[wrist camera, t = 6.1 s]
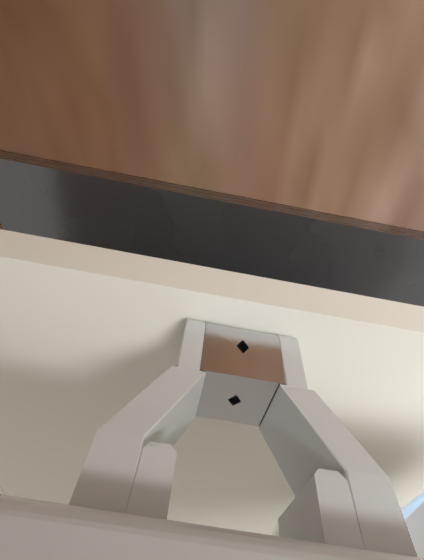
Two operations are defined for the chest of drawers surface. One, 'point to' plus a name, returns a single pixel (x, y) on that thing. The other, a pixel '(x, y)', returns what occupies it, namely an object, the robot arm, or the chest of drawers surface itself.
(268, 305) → the panel
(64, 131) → the chest of drawers surface
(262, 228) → the stage base
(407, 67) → the chest of drawers surface
